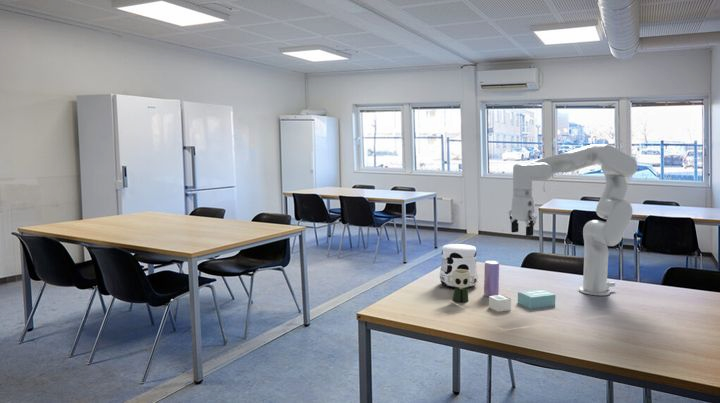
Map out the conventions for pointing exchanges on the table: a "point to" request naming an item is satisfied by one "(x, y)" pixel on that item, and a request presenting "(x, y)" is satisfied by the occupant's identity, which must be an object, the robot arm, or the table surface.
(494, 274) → the beverage can
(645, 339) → the table surface
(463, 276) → the character mug
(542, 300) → the striped teal box
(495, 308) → the white box
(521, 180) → the robot arm
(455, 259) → the milk container
